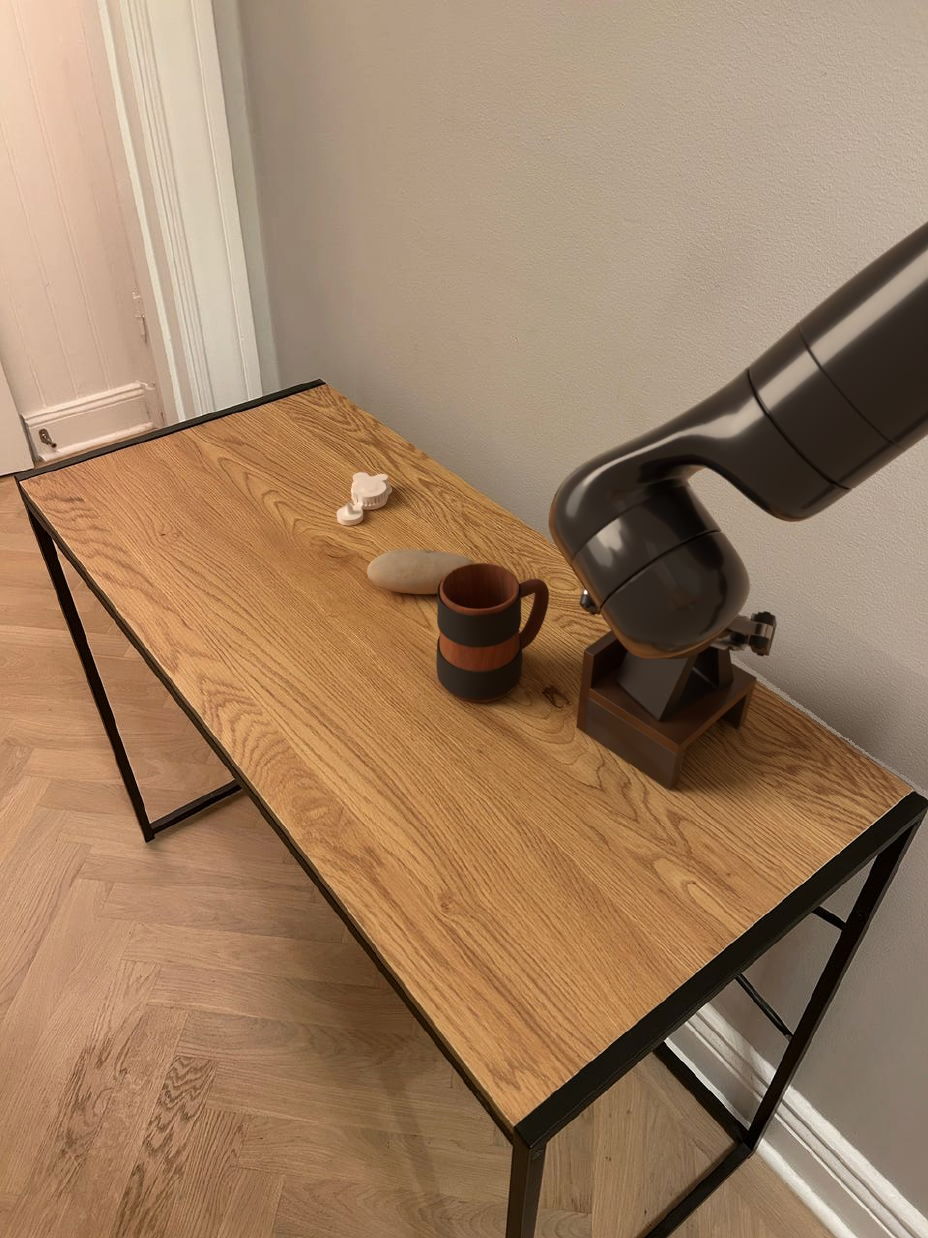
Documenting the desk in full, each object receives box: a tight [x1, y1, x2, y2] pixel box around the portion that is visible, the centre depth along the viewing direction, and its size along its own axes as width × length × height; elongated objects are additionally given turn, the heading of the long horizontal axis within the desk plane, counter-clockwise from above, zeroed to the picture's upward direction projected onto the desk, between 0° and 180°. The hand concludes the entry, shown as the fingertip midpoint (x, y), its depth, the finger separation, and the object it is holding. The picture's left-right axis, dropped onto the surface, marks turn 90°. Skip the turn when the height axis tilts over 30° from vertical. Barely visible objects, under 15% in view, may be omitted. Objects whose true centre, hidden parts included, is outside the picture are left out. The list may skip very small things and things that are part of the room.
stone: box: [366, 548, 475, 595], centre depth 105 cm, size 6×6×12 cm
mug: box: [435, 562, 550, 704], centre depth 92 cm, size 9×12×12 cm
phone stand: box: [615, 647, 734, 722], centre depth 82 cm, size 9×6×12 cm, turn 122°
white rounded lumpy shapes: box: [336, 464, 393, 527], centre depth 119 cm, size 9×9×2 cm
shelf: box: [575, 629, 758, 792], centre depth 87 cm, size 11×12×10 cm
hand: (681, 624), depth 77 cm, fingers open, 8 cm apart
